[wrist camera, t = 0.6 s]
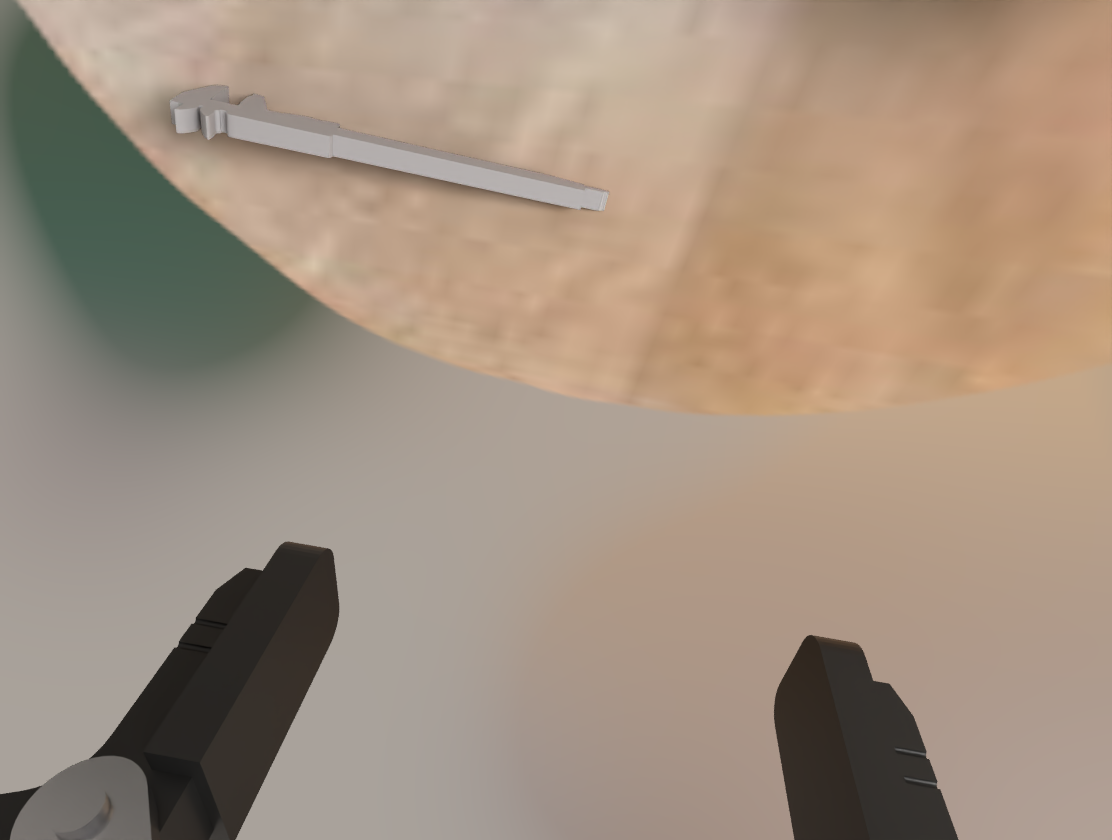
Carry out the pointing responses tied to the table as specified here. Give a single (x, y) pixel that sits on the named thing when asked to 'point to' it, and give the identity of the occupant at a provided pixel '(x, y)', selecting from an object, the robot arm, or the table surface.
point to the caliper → (366, 148)
